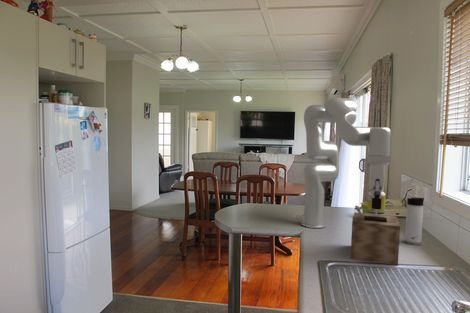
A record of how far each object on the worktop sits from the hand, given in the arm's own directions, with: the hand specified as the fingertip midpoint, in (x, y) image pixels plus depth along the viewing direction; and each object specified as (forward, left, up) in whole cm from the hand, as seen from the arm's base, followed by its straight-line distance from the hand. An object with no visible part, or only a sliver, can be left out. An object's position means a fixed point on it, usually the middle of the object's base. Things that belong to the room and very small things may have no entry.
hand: (376, 206), depth 133 cm
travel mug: (+16, +24, -19) cm, 34 cm away
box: (0, 0, -19) cm, 19 cm away
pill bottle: (0, 0, -3) cm, 3 cm away
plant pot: (-2, +60, -19) cm, 63 cm away
